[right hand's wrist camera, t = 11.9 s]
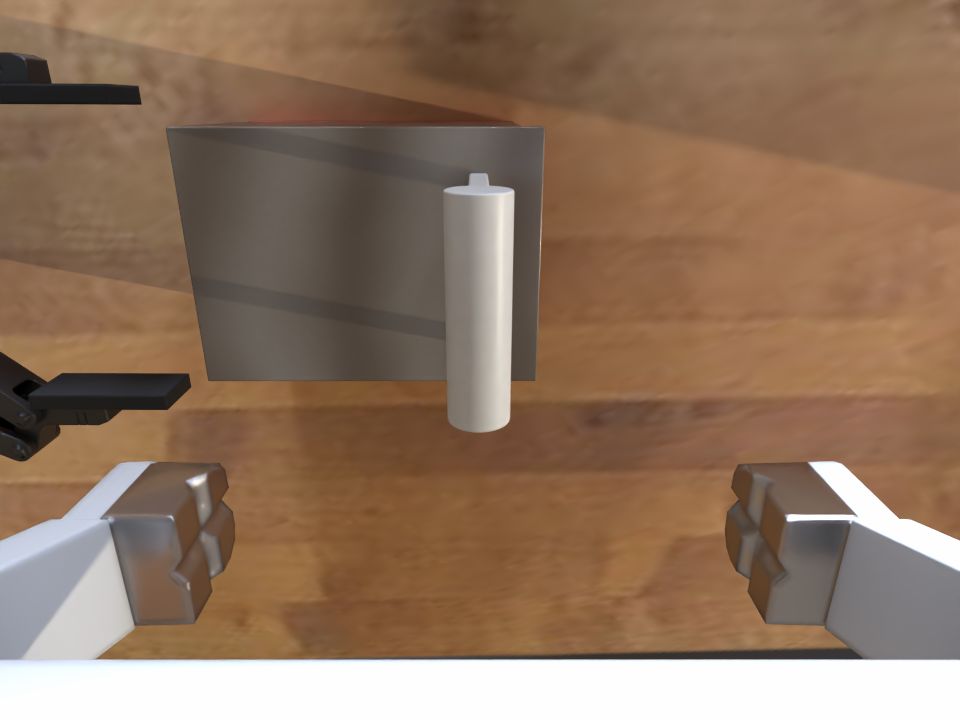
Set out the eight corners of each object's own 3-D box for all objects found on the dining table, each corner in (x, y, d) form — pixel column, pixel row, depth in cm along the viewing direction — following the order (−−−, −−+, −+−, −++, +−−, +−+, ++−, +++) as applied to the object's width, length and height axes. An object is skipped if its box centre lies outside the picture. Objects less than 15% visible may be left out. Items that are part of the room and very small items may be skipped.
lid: (542, 126, 25) (573, 135, 17) (534, 371, 29) (556, 474, 21) (177, 126, 25) (33, 134, 17) (217, 372, 29) (115, 475, 21)
